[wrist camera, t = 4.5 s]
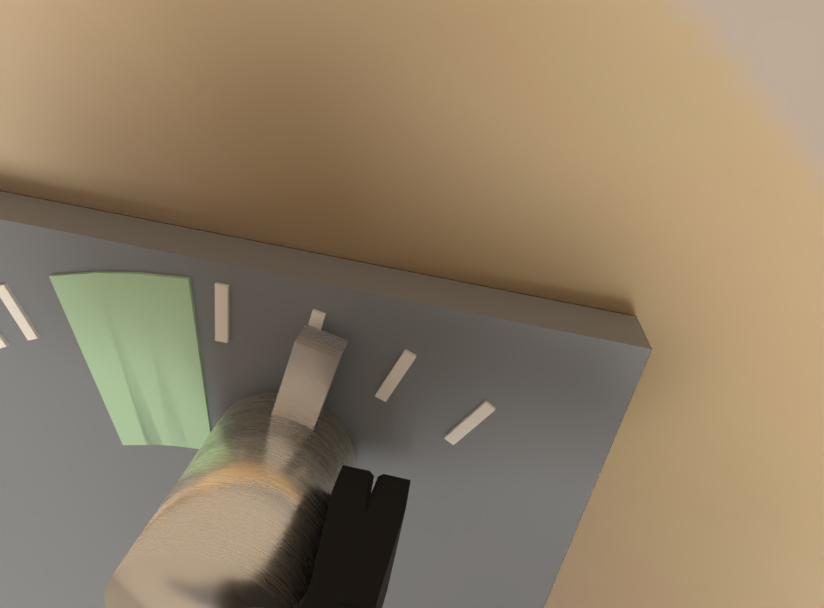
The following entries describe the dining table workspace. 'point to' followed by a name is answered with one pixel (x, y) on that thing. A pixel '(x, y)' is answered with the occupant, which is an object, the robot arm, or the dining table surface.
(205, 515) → the lever
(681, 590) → the dining table surface
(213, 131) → the dining table surface
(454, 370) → the dial board
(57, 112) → the dining table surface
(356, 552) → the robot arm
